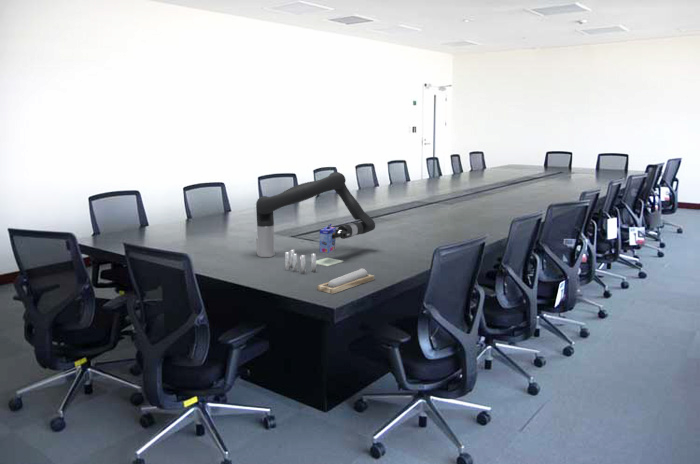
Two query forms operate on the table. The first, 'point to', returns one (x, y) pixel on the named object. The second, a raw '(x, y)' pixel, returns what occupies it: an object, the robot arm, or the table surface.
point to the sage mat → (328, 262)
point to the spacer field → (293, 261)
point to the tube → (348, 278)
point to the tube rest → (344, 285)
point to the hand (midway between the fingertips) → (327, 235)
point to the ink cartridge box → (327, 239)
